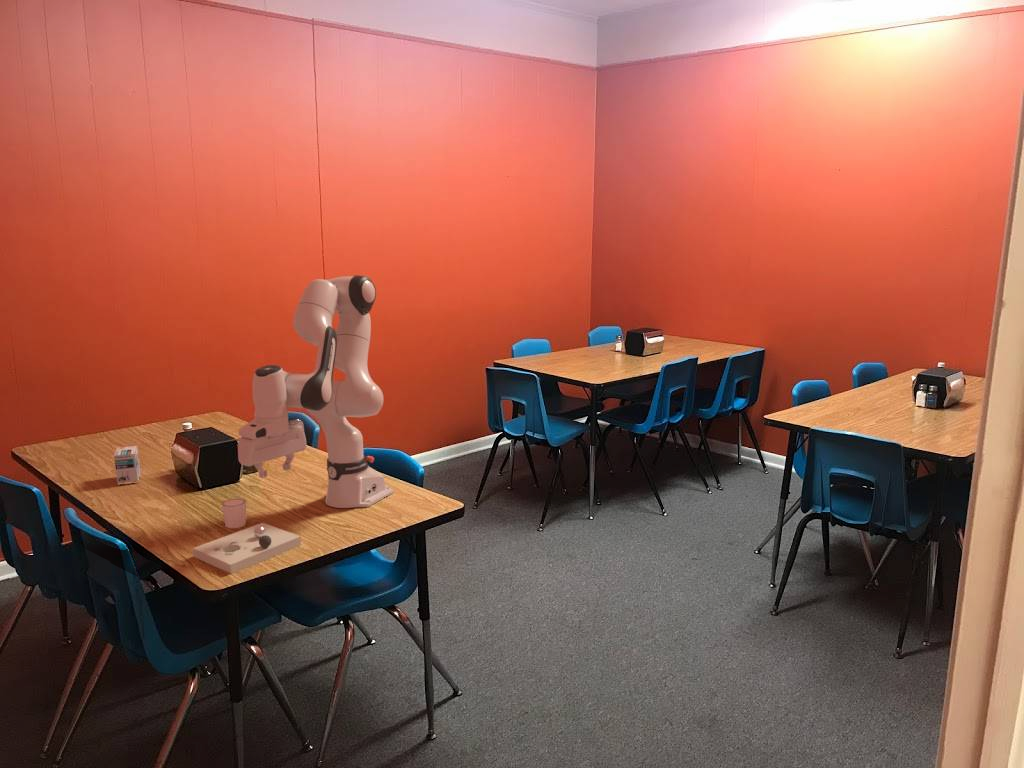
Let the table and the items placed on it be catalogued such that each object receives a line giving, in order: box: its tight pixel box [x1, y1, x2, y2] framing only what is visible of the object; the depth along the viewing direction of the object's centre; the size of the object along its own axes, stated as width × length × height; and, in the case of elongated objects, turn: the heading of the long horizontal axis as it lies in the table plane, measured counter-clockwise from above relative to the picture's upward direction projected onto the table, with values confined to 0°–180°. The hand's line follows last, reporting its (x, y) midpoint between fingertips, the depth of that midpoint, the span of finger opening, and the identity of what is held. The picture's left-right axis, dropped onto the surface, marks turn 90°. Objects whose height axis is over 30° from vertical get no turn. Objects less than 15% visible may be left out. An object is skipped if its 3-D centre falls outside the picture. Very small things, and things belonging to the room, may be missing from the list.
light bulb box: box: [113, 445, 141, 483], centre depth 268 cm, size 11×7×11 cm, turn 22°
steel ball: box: [254, 526, 266, 538], centre depth 213 cm, size 3×3×3 cm
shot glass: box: [221, 498, 247, 529], centre depth 229 cm, size 7×7×7 cm
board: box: [192, 522, 302, 575], centre depth 211 cm, size 22×17×2 cm
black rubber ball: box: [259, 535, 271, 547], centre depth 207 cm, size 3×3×3 cm
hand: (275, 473), depth 215 cm, fingers open, 6 cm apart
